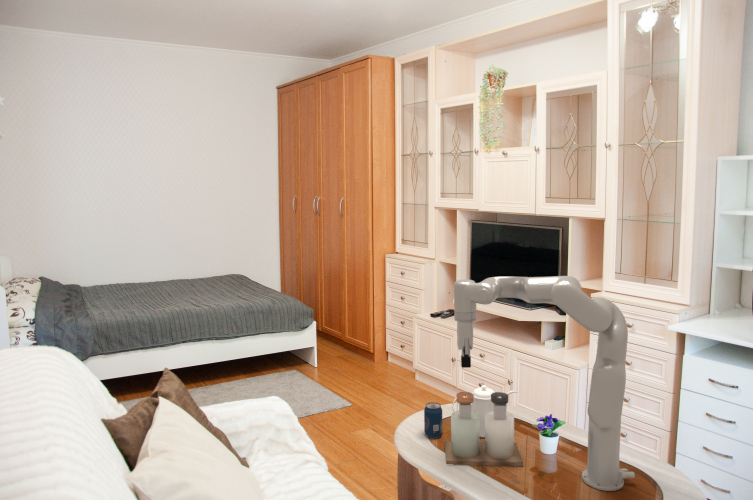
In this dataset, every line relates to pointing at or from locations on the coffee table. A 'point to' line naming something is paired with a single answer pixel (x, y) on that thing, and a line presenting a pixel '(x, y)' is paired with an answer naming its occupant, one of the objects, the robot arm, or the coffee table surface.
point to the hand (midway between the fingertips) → (466, 366)
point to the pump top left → (499, 398)
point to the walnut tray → (482, 457)
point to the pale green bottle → (465, 432)
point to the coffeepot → (482, 405)
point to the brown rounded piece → (465, 397)
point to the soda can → (433, 420)
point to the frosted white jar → (499, 433)
